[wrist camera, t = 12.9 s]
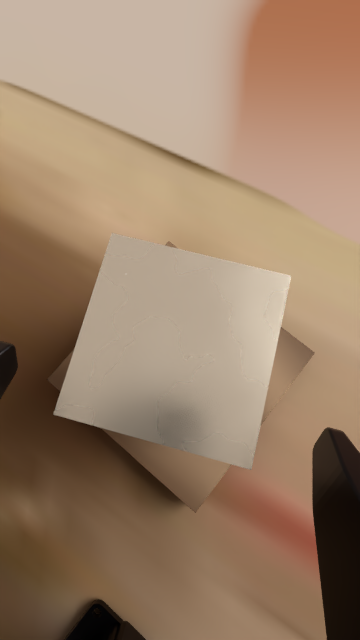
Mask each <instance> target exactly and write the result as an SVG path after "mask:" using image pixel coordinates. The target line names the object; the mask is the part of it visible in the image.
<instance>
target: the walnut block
mask: <svg viewBox="0 0 360 640" xmlns="http://www.w3.org/2000/svg"><path fill="white" fill-rule="evenodd" d="M165 246H169V247H173V248H177V247H176V246H174V245H173V244H172V243H171V242H168V243H167V244H166V245H165ZM177 249H178V248H177ZM74 349H75V348H74ZM74 349H73V351H72V352H71V353H70V354H69V355H68V356H67V357H66V358H65V360H64V361H63V362H62V363H61V364H60V365H59V366H58V368H57V369H56V370H55V371H54V372H53V373H52V374H51V375H50V377H49V378H48V379H47V380H48V381H49V382H50V383H51V384H52V385H53V386H55V387H56V388H57V389H58V390H59V391H60V392H61V389H62V386H63V383H64V380H65V377H66V373H67V370H68V367H69V364H70V361H71V358H72V355H73V352H74ZM313 355H314V352H313V351H312V350H310V349H309V348H308V347H307V346H305V345H304V344H303V343H301V342H300V341H299V340H297V339H296V338H295V337H293V336H292V335H291V334H290V333H288V332H287V331H286V330H284V329H283V328H282V327H281V328H280V333H279V338H278V342H277V347H276V352H275V357H274V362H273V367H272V372H271V376H270V381H269V386H268V391H267V396H266V401H265V406H264V410H263V415H262V420H261V424H262V423H263V422H264V420H265V419H266V418H267V416H268V415H269V414H270V412H271V411H272V410H273V408H274V407H275V406H276V404H277V403H278V402H279V400H280V399H281V398H282V396H283V395H284V394H285V392H286V391H287V390H288V388H289V387H290V386H291V384H292V383H293V381H294V380H295V379H296V377H297V376H298V375H299V373H300V372H301V371H302V369H303V368H304V367H305V365H306V364H307V363H308V361H309V360H310V359H311V357H312V356H313ZM260 426H261V425H260ZM101 429H102V430H104V431H105V432H106V433H107V434H108V435H109V436H110V437H111V438H112V439H114V440H115V441H116V442H117V443H118V444H119V445H120V446H121V447H123V448H124V449H125V450H126V451H127V452H128V453H129V454H130V455H131V456H133V457H134V458H135V459H136V460H137V461H138V462H139V463H140V464H141V465H143V466H144V467H145V468H146V469H147V470H148V471H149V472H150V473H151V474H153V475H154V476H155V477H156V478H157V479H158V480H159V481H160V482H162V483H163V484H164V485H165V486H166V487H167V488H168V489H169V490H170V491H172V492H173V493H174V494H175V495H176V496H177V497H178V498H179V499H180V500H182V501H183V502H184V503H185V504H186V505H187V506H188V507H189V508H190V509H192V510H193V511H194V512H195V513H196V511H197V510H198V509H199V507H200V506H201V505H202V503H203V502H204V501H205V499H206V498H207V497H208V495H209V494H210V493H211V491H212V490H213V489H214V487H215V486H216V485H217V483H218V482H219V481H220V479H221V478H222V477H223V475H224V474H225V473H226V471H227V470H228V469H229V467H230V466H231V465H232V464H229V463H225V462H221V461H218V460H214V459H211V458H207V457H204V456H200V455H196V454H193V453H189V452H186V451H182V450H178V449H175V448H171V447H168V446H164V445H161V444H157V443H153V442H150V441H146V440H143V439H139V438H136V437H132V436H128V435H125V434H121V433H118V432H114V431H110V430H107V429H103V428H101Z"/></svg>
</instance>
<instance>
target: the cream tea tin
mask: <svg viewBox="0 0 360 640" xmlns="http://www.w3.org/2000/svg"><path fill="white" fill-rule="evenodd" d="M290 279H291V276H290V275H286V274H282V273H278V272H274V271H270V270H265V269H261V268H257V267H253V266H249V265H244V264H240V263H236V262H232V261H228V260H224V259H219V258H215V257H211V256H207V255H203V254H198V253H194V252H190V251H186V250H182V249H177V248H173V247H169V246H165V245H161V244H157V243H152V242H148V241H144V240H140V239H136V238H131V237H127V236H123V235H119V234H115V233H112V234H111V237H110V241H109V244H108V247H107V250H106V253H105V256H104V259H103V262H102V265H101V268H100V271H99V275H98V278H97V281H96V284H95V287H94V290H93V293H92V296H91V299H90V302H89V305H88V309H87V312H86V315H85V318H84V321H83V324H82V327H81V330H80V333H79V336H78V339H77V343H76V346H75V349H74V352H73V355H72V358H71V361H70V364H69V367H68V370H67V373H66V377H65V380H64V383H63V386H62V389H61V392H60V395H59V398H58V401H57V404H56V407H55V411H54V414H53V415H57V416H60V417H64V418H68V419H71V420H75V421H78V422H82V423H85V424H89V425H93V426H96V427H100V428H103V429H107V430H110V431H114V432H118V433H121V434H125V435H128V436H132V437H136V438H139V439H143V440H146V441H150V442H153V443H157V444H161V445H164V446H168V447H171V448H175V449H178V450H182V451H186V452H189V453H193V454H196V455H200V456H204V457H207V458H211V459H214V460H218V461H221V462H225V463H229V464H232V465H236V466H239V467H243V468H246V469H250V470H251V469H252V464H253V459H254V454H255V449H256V444H257V439H258V435H259V430H260V425H261V420H262V415H263V410H264V406H265V401H266V396H267V391H268V386H269V381H270V376H271V372H272V367H273V362H274V357H275V352H276V347H277V342H278V338H279V333H280V328H281V323H282V318H283V313H284V309H285V304H286V299H287V294H288V289H289V284H290Z"/></svg>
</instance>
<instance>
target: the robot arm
mask: <svg viewBox="0 0 360 640" xmlns="http://www.w3.org/2000/svg"><path fill="white" fill-rule="evenodd" d="M17 368H18V363H17V356H16V349H15V346H14V345H13V344H11V343H7V342H3V341H0V399H1V397H2V395H3V394H4V392H5V390H6V388H7V387H8V385H9V383H10V382H11V380H12V378H13V377H14V375H15V373H16V371H17ZM313 517H314V526H315V536H316V545H317V554H318V563H319V572H320V581H321V590H322V599H323V608H324V617H325V626H326V635H327V640H360V453H359V451H358V450H357V449H356V447H355V446H354V445H353V444H352V442H351V441H350V440H349V438H348V437H347V436H346V434H345V433H344V432H343V431H341V430H337V429H333V428H329V427H328V428H326V429H325V430H324V431H323V432H322V434H321V435H320V437H319V439H318V440H317V442H316V443H315V445H314V448H313ZM96 608H98V609H100V611H101V613H100V614H97V613H95V611H94V609H96ZM64 640H146V639H145V638H144V637H143V636H142V635H141V634H140V633H139V632H138V631H137V630H136V629H135V628H134V627H133V626H132V625H131V624H130V623H129V622H128V621H123V620H122V619H121V618H120V617H119V616H118V615H117V614H116V613H115V612H114V611H113V610H112V609H111V608H110V607H109V606H108V605H107V604H106V603H105V602H104V601H102V600H99V599H98V600H95V601H94V602H93V603H92V604H91V605H90V607H89V608H88V609H87V610H86V612H85V613H84V614H83V616H82V617H81V618H80V620H79V621H78V622H77V624H76V625H75V626H74V627H73V629H72V630H71V631H70V633H69V634H68V635H67V637H66V638H65V639H64Z"/></svg>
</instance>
